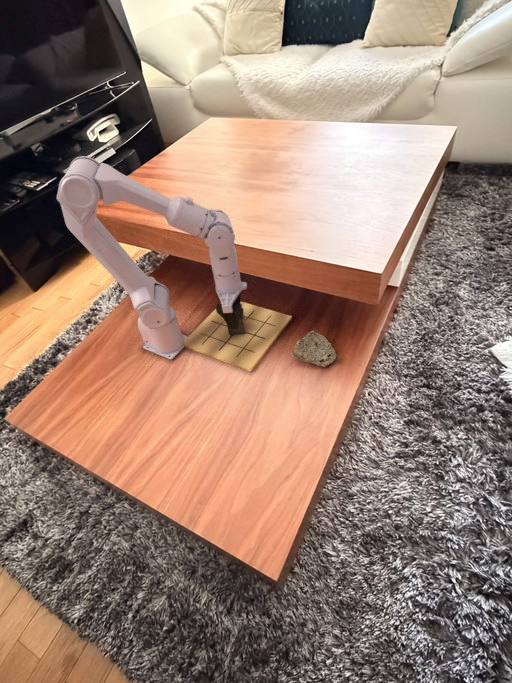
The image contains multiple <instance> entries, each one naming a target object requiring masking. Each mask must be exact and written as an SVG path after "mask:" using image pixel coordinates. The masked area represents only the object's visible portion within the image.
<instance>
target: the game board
mask: <svg viewBox="0 0 512 683" xmlns="http://www.w3.org/2000/svg"><path fill="white" fill-rule="evenodd" d="M220 304H222V303H221V302H220ZM240 304H242V308H244V314H245V320H246V333H245V334H239V335H229V332H228V327H227V324H226V322H225V320H224V319H223V318H222V316H220V315H219V314H218V313H217V311H216V308H215V309H214V310H212V312H211V313H210V314H209V315H208V316H207V317H206V318H205V319H203V321H202V322H201V323H200V324H199V325H198V326H197V327H196V328H195V329H194V330H193V331H192V332H191V333H190V334H189V335H187V336H188V337H187V338H186V339H185V340H184V342H183V345H184V346H185V347H184V348H186V349H188V350H191V351H195V352H197V353H200V354H202V355H205V356H208V357H210V358H213V359H215V360H218V361H221V362H224V363H226V364H229V365H231V366H234V367H236V368H239V369H241V370H244V371H246V372H249V373H252V371H253V370H254V369H255V367H256V366H257V365H258V364H259V362H260V361H261V360H262V359H263V357H264V356H265V354H266V353H268V351H269V350H270V348H271V347H272V346H273V344H274V343H275V342H276V340H277V339H278V337H280V335H281V334H282V333H283V331H284V330H285V329H286V327H287V326H288V324H289V323H290V322H291V321H292V319H293V316H292V315H290V314H287V313H283V312H280V311H275V310H273V309H268V308H265V307H262V306H258V305H254V304H251V303H248V302H245V301H241V300H240Z"/></svg>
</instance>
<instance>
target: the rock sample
mask: <svg viewBox="0 0 512 683" xmlns="http://www.w3.org/2000/svg"><path fill="white" fill-rule="evenodd" d="M332 346H333V345H332V343H331V342H329V340H328V339H327V338H326V337H325V336H324V335H322V334H321V333H318V332H316V331H315V330H311V331H310V332H308V333H307V334H305V335H304V336H303V337H302V338H299V339H298V340H297V341H296V343H295V344H294V346H293V349H292V353H291V357H293V358H296V359H298V360H299V361H301V362H305V363H309V364H310V363H311V364H312V365H315V366H317V367H322V368H325V367H327V366H329V365H331V364H333V363H334V362H335V361H336V359H337V355H338V354H337V352H336V350H335V349H334V347H332Z"/></svg>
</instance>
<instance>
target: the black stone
mask: <svg viewBox="0 0 512 683" xmlns="http://www.w3.org/2000/svg"><path fill="white" fill-rule="evenodd" d="M227 327H228V326H227ZM228 332H229V335H239V334H245V333H246V320H245V314H244V308H242V309H241V312H240V314H239V326H238V329H229V327H228Z"/></svg>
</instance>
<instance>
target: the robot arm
mask: <svg viewBox="0 0 512 683" xmlns="http://www.w3.org/2000/svg"><path fill="white" fill-rule="evenodd" d="M56 200H57V202H58V203H59V204H60V207H61V208H60V209H61V212H62V215H63V219H64V223H65V226H66V227H67V230H69V231H70V233H72V235H73V236H74V237H75V238H76V239H77V240H78V241H79V242H80V243H81V244H82V245H83V246H84V247H85V249H86V250H87V251H88V252H89V253H90V254H91V255H92V256H93V257H94V258H95V260H97V262H98V263H99V264H100V265H102V267H103V268H104V269H105V270H106V271H107V272H108V273H109V274H110V275H111V277H112V278H113V279H114V280H115V281H116V282H117V283H118V284H119V285H120V286H121V287H122V288H123V289H124V290H125V291H126V293H127V294H129V297H130V300H131V302H132V307H133V309H134V310H135V312H137V313H138V315H139V317H138V319H137V328H138V331H139V333H140V335H141V339H142V340H143V342H144V344H143V346H142V348H143V349H144V350H146V351H148V352H151V353H153V354H156V355H157V356H161V357H163V358H166V359H168V360H173V359H174V358H175V357H177V355H178V354H179V353H180V352H182V350H183V349H184V348H186V347H185V346H184V345H183V342H184V340H185V339H186V338H187V337H188V336H189V335H186V334H183V333H182V330H181V327H180V324H179V321H178V318H177V315H176V312H175V309H174V308H173V306H171V305H170V297H171V293H170V292H171V291H170V290H169V288H168V287H167V286H166V285H165V284H163V283H161V282H158V281H157V280H156V278H154V277H153V276H147V275H146V274H145V272H144V271H143V270H142V268H140V266H139V265H138V264H137V263H136V261H135V260H134V259H133V258H132V257H131V256H130V254H128V253H127V251H126V250H125V249H124V247H123V246H122V245H121V244H120V243H119V242H118V240H117V239H116V238H115V237H114V236H113V235H112V234H111V233H110V231H109V230H108V229H107V228H106V227H105V225H104V224H103V223H102V222H101V221H100V219H99V218H98V217H97V213H98V204H99V202H100V200H102V206H103V207H107V206H110V205H113V204H116V203H118V202H125V203H128V204H131V205H133V206H136V207H138V208H141V209H144V210H147V211H149V212H152V213H154V214H157V215H160V216H163V217H164V218H165V220H166V222H167V224H168V225H169V226H170V227H173V228H175V229H177V230H179V231H182V232H184V233H186V234H188V235H191V236H193V237H195V238H198V239H200V240H204V243H205V245H206V246H207V248H208V257H209V261H210V262H209V263H210V266H211V270H212V275H213V280H214V285H215V288H214V289H215V292H216V294H217V297H218V298H219V301H220V303H217V304H216V305H215V306H216V307H215V309H216V311H217V313H218V314H219V315H220V316H222V318H223V319H224V320H225V322H226V324H227V326H228V327H229V329H238V326H239V314H240V312H241V309H242V304H240V301H241V294H242V291H244V290H245V291H246V290H247V289H248V283H247V282H246V281H244V278H243V277H241V272H240V266H239V260H238V254H237V249H236V246H235V245H236V244H235V239H236V234H235V233H234V229H233V225H232V220H231V219H230V217H229V215H228V214H227V213H225V212H224V211H223V210H222V209H214V208H210V209H209V208H207V207H204V206H202V205H200V204H197V203H195V202H194V199H193V198H192V197H190V196H188V195H187V196H186V197H182V196H175V197H173V198H170V197H168V196H165V195H164V194H162V193H160V192H158V191H156V190H154V189H153V188H150V187H148V186H147V185H145V184H142V183H140V182H139V181H137V180H136V179H133V178H131V177H129V176H127V175H125V174H123V173H122V172H120V171H118V170H117V169H116V168H114V167H113V166H111V165H110V164H108V163H104V162H99V161H98V160H96V159H95V158H92V157H89V156H86V155H84V156H83V155H82V156H77V157H75V158H74V159H72V161H71V162H70V163H69V166H68V169H67V171H66V173H65V174H64V176H63V177H61V179H60V181H59V183H58V189H57V194H56ZM221 303H222V304H221Z"/></svg>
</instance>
